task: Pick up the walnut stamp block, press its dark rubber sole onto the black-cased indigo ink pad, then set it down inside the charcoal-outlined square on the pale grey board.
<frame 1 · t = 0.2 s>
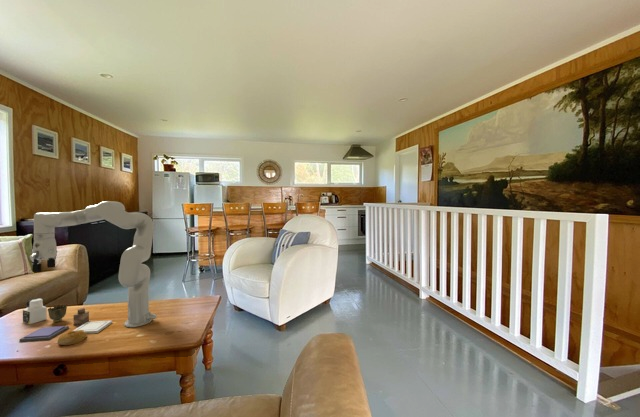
hand: (44, 269, 138), 30 cm above the table, fingers open, 9 cm apart
stamp: (81, 323, 144), on the table
ink pad: (45, 334, 131), on the table
cup: (57, 321, 146), on the table
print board: (92, 328, 138), on the table
medicine bottle: (34, 321, 146), on the table
bagel: (72, 341, 125), on the table
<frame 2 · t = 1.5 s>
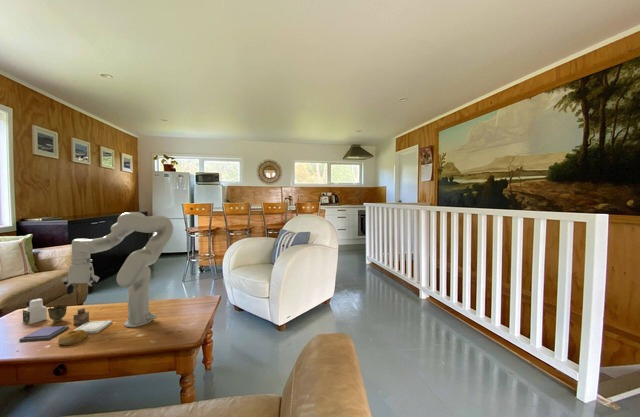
hand: (80, 293, 144), 16 cm above the table, fingers open, 9 cm apart
nothing on the table moved.
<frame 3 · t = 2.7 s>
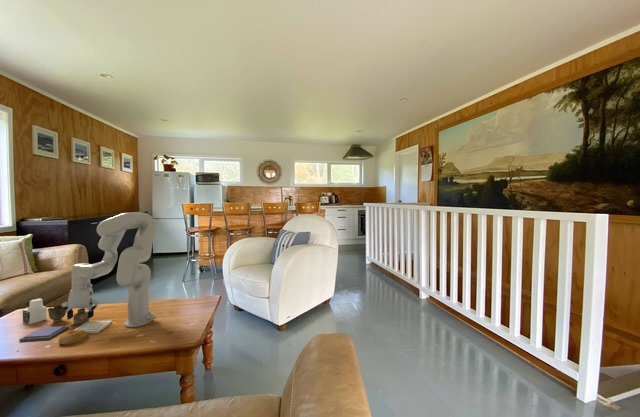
hand: (80, 318, 144), 3 cm above the table, fingers open, 9 cm apart
nothing on the table moved.
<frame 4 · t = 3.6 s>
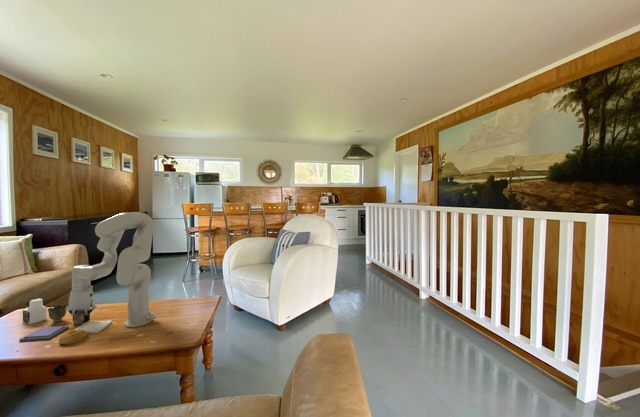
hand: (81, 321, 144), 1 cm above the table, fingers closed on stamp, 4 cm apart
stamp: (81, 323, 144), on the table, touching gripper
everything else where it was.
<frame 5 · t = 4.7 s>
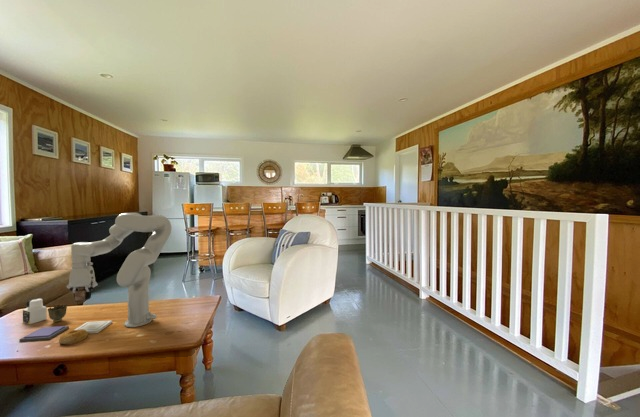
hand: (82, 298, 144), 13 cm above the table, fingers closed on stamp, 4 cm apart
stamp: (82, 300, 144), point 12 cm above the table, touching gripper
everything else where it was.
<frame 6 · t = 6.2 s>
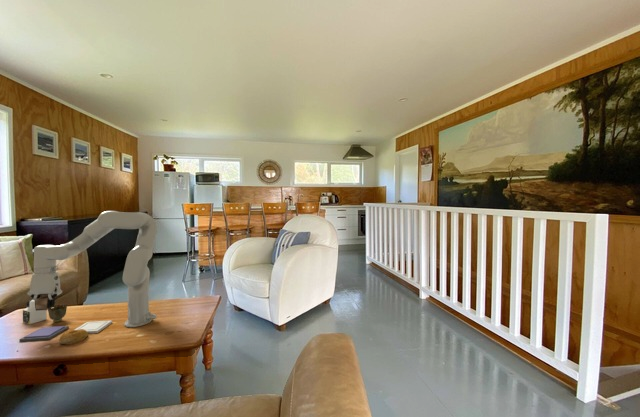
hand: (44, 307, 131), 14 cm above the table, fingers closed on stamp, 4 cm apart
stamp: (45, 308, 131), point 13 cm above the table, touching gripper
everything else where it was.
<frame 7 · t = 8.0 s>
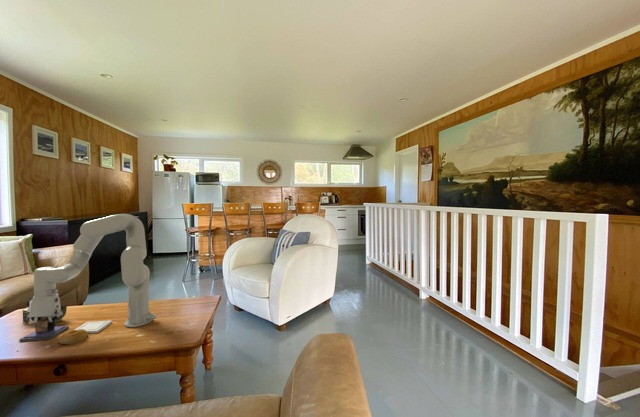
hand: (45, 329, 131), 3 cm above the table, fingers closed on stamp, 4 cm apart
stamp: (45, 330, 131), point 2 cm above the table, touching gripper
everything else where it was.
when the fingers open (2 cm above the table, at t = 13.5 s): stamp stays where it is, resting on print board.
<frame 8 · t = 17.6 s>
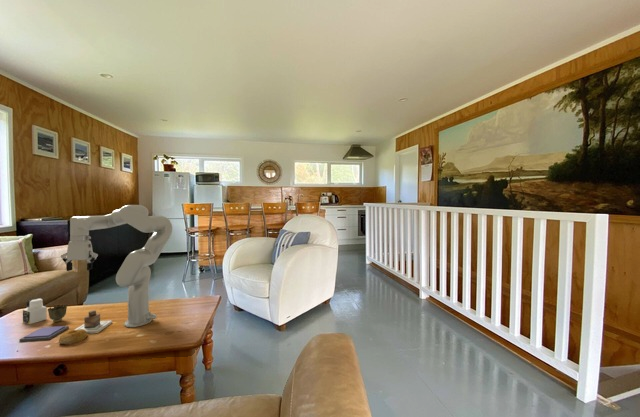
hand: (79, 270, 145), 28 cm above the table, fingers open, 9 cm apart
stamp: (92, 326, 138), point 1 cm above the table, touching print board
everything else where it was.
at the end: stamp 0.1 cm off-centre on the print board, point 1.2 cm above the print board's base; stamp tilted 0°; the gripper is holding nothing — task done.
